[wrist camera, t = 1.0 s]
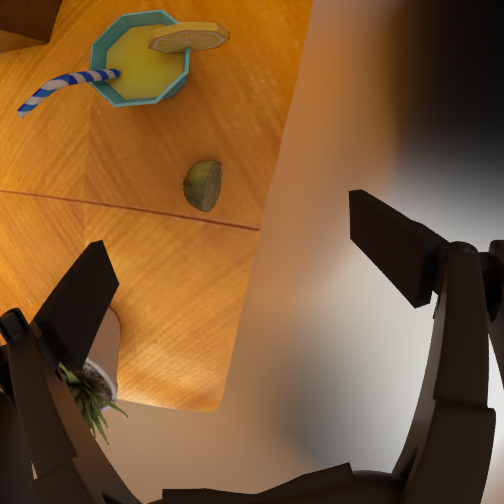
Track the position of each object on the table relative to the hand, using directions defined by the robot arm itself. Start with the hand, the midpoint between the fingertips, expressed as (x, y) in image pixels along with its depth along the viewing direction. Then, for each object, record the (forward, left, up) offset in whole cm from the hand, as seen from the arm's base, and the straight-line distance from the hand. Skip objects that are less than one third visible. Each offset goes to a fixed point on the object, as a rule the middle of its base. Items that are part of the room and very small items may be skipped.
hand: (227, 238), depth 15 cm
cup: (-12, -5, -17) cm, 21 cm away
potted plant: (+15, -22, -17) cm, 32 cm away
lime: (0, -2, -17) cm, 17 cm away
